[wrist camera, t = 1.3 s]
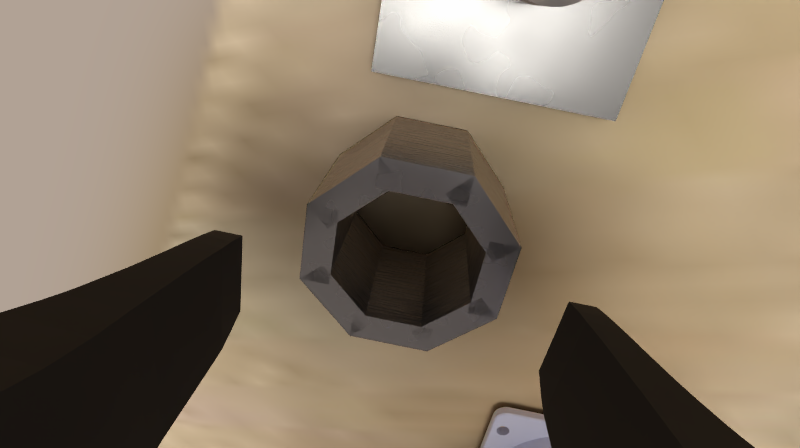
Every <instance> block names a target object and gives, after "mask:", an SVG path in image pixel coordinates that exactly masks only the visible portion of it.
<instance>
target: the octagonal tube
mask: <svg viewBox="0 0 800 448" xmlns="http://www.w3.org/2000/svg"><path fill="white" fill-rule="evenodd" d="M388 191H391V192H396V193H401V194H406V195H411V196H416V197H421V198H426V199H431V200H435V201H440V202H445V203H450V204H453V205H454V206H455V208H456V209H457V211H458V212H459V214H460V215H461V217H462V218H463V220H464V221H465V223H466V224H467V228H466V232H465V234H463V235H462V236H460V237H458V238H456V239H454V240H452V241H451V242H449V243H447V244H445V245H443V246H441V247H440V248H438V249H436V250H434V251H432V252H430V253H429V254H427V255H426V254H421V253H416V252H411V251H406V250H401V249H396V248H391V247H387V246H383V245H382V244H381V243H380V241H379V240H378V239H377V238H376V236H375V235H374V234H373V232H372V231H371V230H370V228H369V227H368V226H367V225H366V223H365V222H364V221H363V219H362V218H361V217H360V216H359V214H358V213H357V212H356V211H357V210H358V209H360V208H362V207H363V206H365V205H366V204H368V203H370V202H371V201H373V200H375V199H376V198H378V197H379V196H381V195H383V194H384V193H386V192H388ZM520 251H521V245H520V241H519V238H518V235H517V231H516V228H515V225H514V221H513V218H512V215H511V211H510V208H509V204H508V201H507V198H506V194H505V191H504V188H503V186H502V185H501V183H500V181H499V180H498V178H497V177H496V175H495V174H494V172H493V170H492V169H491V167H490V166H489V164H488V162H487V161H486V159H485V158H484V156H483V155H482V153H481V151H480V150H479V148H478V147H477V145H476V143H475V142H474V140H473V139H472V137H471V135H470V134H469V132H468V131H466V130H461V129H456V128H451V127H446V126H441V125H437V124H432V123H427V122H422V121H417V120H412V119H407V118H402V117H397V116H396V117H395V118H393V119H392V120H390V121H389V122H387V123H386V124H385V125H383V126H382V127H380V128H379V129H377V130H376V131H374V132H373V133H371V134H370V135H368V136H367V137H365V138H364V139H362V140H361V141H359V142H358V143H356V144H355V145H353V146H352V147H350V148H349V149H347V150H346V151H344V152H343V153H341V154H340V155H339V157H338V158H337V160H336V161H335V163H334V164H333V166H332V167H331V169H330V170H329V172H328V173H327V175H326V176H325V178H324V180H323V181H322V183H321V184H320V186H319V187H318V189H317V190H316V192H315V193H314V195H313V196H312V198H311V199H310V201H309V202H308V204H307V211H306V221H305V231H304V241H303V251H302V261H301V271H300V279H301V281H302V282H303V283H304V284H305V285H306V286H307V287H308V289H309V290H310V291H311V292H312V293H313V294H314V295H315V296H316V298H317V299H318V300H319V301H320V302H321V303H322V304H323V306H324V307H325V308H326V309H327V310H328V311H329V312H330V314H331V315H332V316H333V317H334V318H335V319H336V320H337V322H338V323H339V324H340V325H341V326H342V327H343V328H344V329H345V331H346V332H347V333H348V334H349V335H350V336H355V337H360V338H364V339H369V340H374V341H379V342H384V343H389V344H394V345H399V346H404V347H409V348H414V349H419V350H423V351H428V350H431V349H433V348H435V347H437V346H439V345H441V344H443V343H446V342H448V341H450V340H452V339H454V338H456V337H459V336H461V335H463V334H465V333H467V332H469V331H471V330H474V329H476V328H478V327H480V326H482V325H484V324H486V323H489V322H491V321H493V320H495V319H497V316H498V314H499V311H500V308H501V305H502V302H503V299H504V296H505V294H506V291H507V288H508V285H509V282H510V279H511V276H512V273H513V271H514V268H515V265H516V262H517V259H518V256H519V253H520Z"/></svg>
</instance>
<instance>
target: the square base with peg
mask: <svg viewBox="0 0 800 448" xmlns="http://www.w3.org/2000/svg"><path fill="white" fill-rule="evenodd" d="M663 1H664V0H382V2H381V9H380V16H379V23H378V29H377V36H376V43H375V50H374V56H373V63H372V70H371V71H372V72H377V73H382V74H387V75H392V76H397V77H401V78H406V79H411V80H416V81H421V82H426V83H431V84H436V85H440V86H445V87H450V88H455V89H460V90H465V91H470V92H475V93H480V94H484V95H489V96H494V97H499V98H504V99H509V100H514V101H519V102H524V103H528V104H533V105H538V106H543V107H548V108H553V109H558V110H563V111H568V112H572V113H577V114H582V115H587V116H592V117H597V118H602V119H607V120H612V121H616V119H617V116H618V114H619V111H620V109H621V106H622V104H623V101H624V99H625V96H626V94H627V91H628V89H629V86H630V84H631V81H632V79H633V76H634V74H635V71H636V69H637V66H638V64H639V61H640V59H641V56H642V54H643V51H644V49H645V46H646V44H647V41H648V39H649V36H650V34H651V31H652V29H653V26H654V24H655V21H656V19H657V16H658V14H659V11H660V9H661V6H662V4H663Z"/></svg>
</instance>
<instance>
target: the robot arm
mask: <svg viewBox="0 0 800 448" xmlns="http://www.w3.org/2000/svg"><path fill="white" fill-rule="evenodd" d="M241 267H242V236H241V235H236V234H231V233H226V232H221V231H216V230H214V231H211V232H208V233H206V234H203V235H201V236H198V237H196V238H194V239H191V240H189V241H187V242H185V243H182V244H180V245H178V246H176V247H173V248H171V249H169V250H167V251H164V252H162V253H160V254H158V255H155V256H153V257H151V258H149V259H146V260H144V261H142V262H140V263H137V264H135V265H133V266H130V267H128V268H125V269H123V270H120V271H118V272H115V273H113V274H110V275H108V276H105V277H103V278H100V279H98V280H95V281H92V282H90V283H88V284H85V285H82V286H80V287H77V288H75V289H72V290H69V291H67V292H63V293H61V294H58V295H55V296H52V297H49V298H46V299H43V300H40V301H36V302H33V303H30V304H27V305H24V306H20V307H17V308H14V309H11V310H8V311H4V312H1V313H0V448H158V446H159V444H160V443H161V441H162V439H163V438H164V436H165V435H166V433H167V432H168V430H169V429H170V427H171V426H172V424H173V423H174V421H175V420H176V418H177V417H178V415H179V414H180V412H181V411H182V409H183V408H184V406H185V405H186V403H187V402H188V400H189V399H190V397H191V396H192V394H193V393H194V391H195V390H196V388H197V387H198V385H199V384H200V382H201V381H202V379H203V378H204V376H205V375H206V373H207V371H208V370H209V368H210V367H211V365H212V364H213V362H214V361H215V359H216V358H217V356H218V354H219V353H220V351H221V350H222V348H223V346H224V344H225V342H226V340H227V338H228V336H229V334H230V332H231V330H232V327H233V325H234V323H235V321H236V319H237V317H238V315H239V313H240V302H241ZM539 376H540V387H541V398H542V406H543V414H540V413H535V412H530V411H525V410H520V409H515V408H510V407H501V408H498V409H497V410H495V412H494V413H493V416H492V418H491V421H490V423H489V426H488V429H487V431H486V434H485V436H484V439H483V441H482V444H481V447H480V448H755V447H753V446H752V445H751V444H749V443H748V442H747V441H746V440H744V439H743V438H742V437H741V436H739V435H738V434H737V433H736V432H735V431H733V430H732V429H731V428H730V427H728V426H727V425H726V424H725V423H724V422H722V421H721V420H720V419H719V418H718V417H717V416H716V415H714V414H713V413H712V412H711V411H710V410H709V409H707V408H706V407H705V406H704V405H703V404H702V403H700V402H699V401H698V400H697V399H696V398H695V397H694V396H692V395H691V394H690V393H689V392H688V391H687V390H686V389H685V388H684V387H682V386H681V385H680V384H679V383H678V382H677V381H676V380H675V379H674V378H673V377H672V376H671V375H669V374H668V373H667V372H666V371H665V370H664V369H663V368H662V367H661V366H660V365H659V364H658V363H657V362H656V361H655V360H653V359H652V358H651V357H650V356H649V355H648V354H647V353H646V352H645V351H644V350H643V349H642V348H641V347H640V346H639V345H638V344H637V343H636V342H635V341H634V340H633V339H632V338H630V337H629V336H628V335H627V334H626V333H625V332H624V331H623V330H622V329H621V328H620V327H619V326H618V325H617V324H616V323H615V322H613V321H612V320H611V319H610V318H609V317H608V316H607V315H606V314H604V313H603V312H602V311H601V310H599V309H598V308H597V307H593V306H588V305H583V304H578V303H573V302H569V303H568V305H567V307H566V310H565V312H564V314H563V317H562V319H561V321H560V324H559V326H558V328H557V331H556V333H555V335H554V338H553V340H552V342H551V344H550V347H549V349H548V351H547V354H546V356H545V358H544V361H543V363H542V365H541V368H540V370H539ZM501 426H505V427H501Z"/></svg>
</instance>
